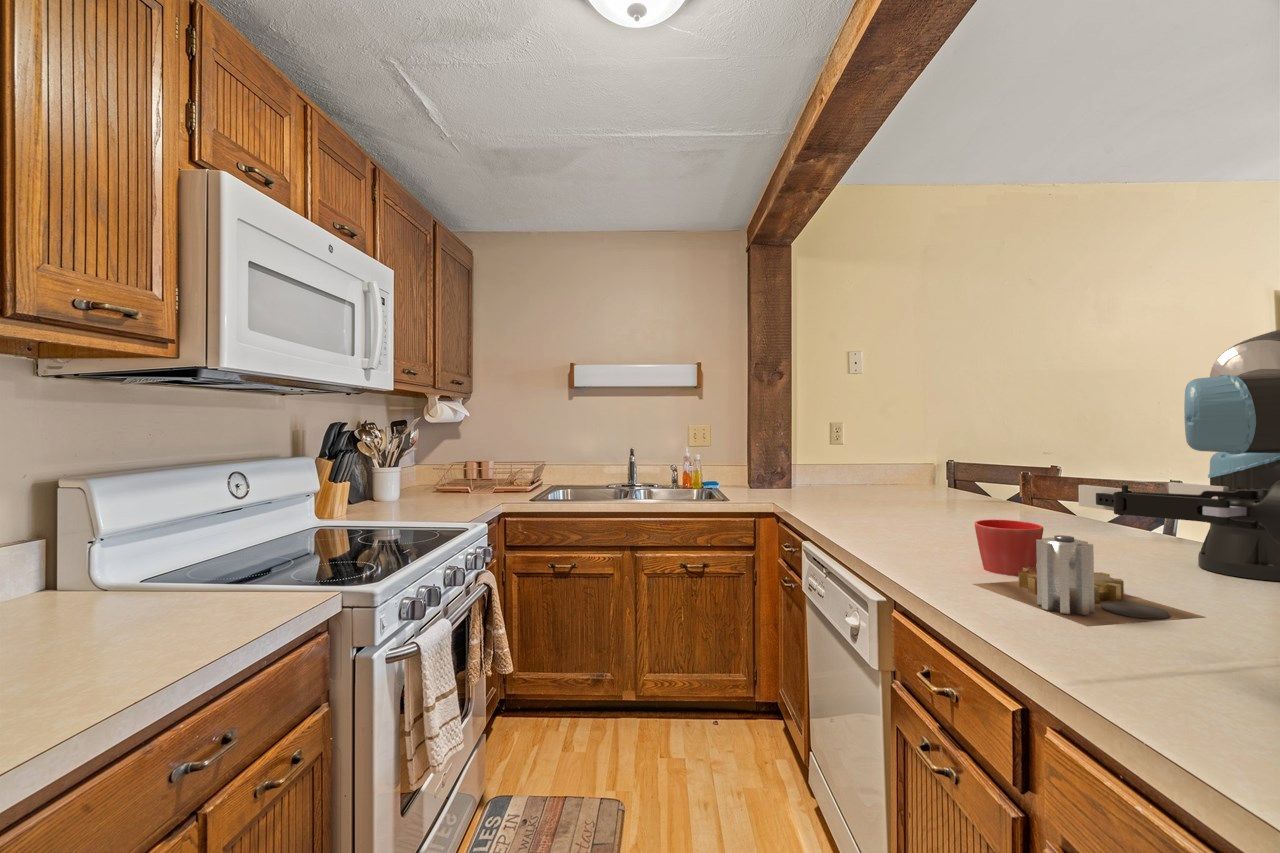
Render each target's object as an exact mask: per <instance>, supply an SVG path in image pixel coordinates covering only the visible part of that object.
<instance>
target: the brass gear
mask: <svg viewBox="0 0 1280 853" xmlns="http://www.w3.org/2000/svg"><path fill="white" fill-rule="evenodd" d="M1017 577H1018V581H1019V587H1021V588H1028V592H1029V593H1032V594H1035V595H1037V567H1036V568H1033V567H1023V571H1018V576H1017ZM1124 583H1125V582H1124V580H1123V579H1121V578H1113V577H1111V574H1109V573H1106V572H1095V571H1094V603H1096V604H1099V601H1112V602H1120V601H1121V597H1124V594H1125V593H1124V592H1125V591H1124V590H1125V588H1124V587H1125V586H1124Z"/></svg>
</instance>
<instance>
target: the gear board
mask: <svg viewBox="0 0 1280 853" xmlns="http://www.w3.org/2000/svg"><path fill="white" fill-rule="evenodd" d="M972 585H973V586H976V587H979V588H982V589H984V590H987V591H989V592H992V593H996V594H997V595H1001V596H1003V597H1006V598H1008V599H1011V600H1014V601H1017V602H1019V603H1022V604H1025V605H1027V606H1031V607H1034V608H1036V609H1039V610H1040V611H1041V610H1042V611H1044V612H1047V613H1050V614H1052V615H1055V616H1058V617H1059V618H1063V619H1066V620H1069V621H1071V622H1074V623H1076V624H1080V625H1083V626H1084V627H1095V626H1096V627H1097V626H1098V627H1099V626H1108V625H1110V626H1111V625H1124V624H1135V623H1136V624H1137V623H1150V622H1161V621H1162V622H1163V621H1164V622H1165V621H1176V620H1190V619H1203V618H1204V619H1205V618H1206V616H1203V615H1200V614H1196V613H1193V612H1190V611H1185V610H1182V609H1181V608H1180V609H1178V608H1175V607H1173V606H1169V605H1166V604H1162V603H1158V602H1155V601H1151V600H1147V599H1144V598H1140V597H1137V596H1134V595H1131V594H1128V593H1124V597H1121V601H1120V602H1112V601H1099V604H1096V603H1094V612H1089V614H1088V615H1081V614H1065V613H1059V612H1055V611H1051V610H1046V609H1044V608H1042V605H1037V595H1035V594H1032V593H1029V592H1028V588H1021V587H1019V580H1017V581H1016V580H1015V581H1014V580H1013V581H999V582H998V581H997V582H983V583H972Z"/></svg>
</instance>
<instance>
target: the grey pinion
mask: <svg viewBox="0 0 1280 853" xmlns="http://www.w3.org/2000/svg"><path fill="white" fill-rule="evenodd" d="M1036 550H1037V564H1036V568H1037V605H1042V608H1044V609H1046V610H1051V611H1055V612H1059V613H1065V614H1081V615H1088V614H1089V612H1094V572H1095V570H1094V569H1095V565H1094V564H1095V562H1094V561H1095V560H1094V556H1095V555H1094V543H1089V542H1088V541H1085V540H1081V539H1076V538H1075V537H1074V536H1071V535H1061V534H1060V535H1059V534H1058V535H1057V534H1056V535H1054V537H1042V540H1038V539H1037V540H1036Z"/></svg>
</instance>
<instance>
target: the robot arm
mask: <svg viewBox="0 0 1280 853" xmlns="http://www.w3.org/2000/svg"><path fill="white" fill-rule="evenodd" d="M1209 373H1210V374H1209V377H1199V378H1198V377H1197V378H1194V379H1191V380H1190V381H1189V382H1187V384H1186V385H1185V389H1184V405H1183V406H1184V409H1183V410H1184V413H1183V414H1184V433H1185V440H1186V441H1185V442H1186V443H1187V445H1188V446H1189V447H1190V449H1193V450H1194V451H1199V452H1209V453H1210V452H1211V453H1212V452H1213V453H1214V454H1213V455H1212V456H1211V457H1210V460H1209V473H1208V475H1207V478H1209V484H1197V483H1184V482H1174V481H1172V482H1168V487H1167V488H1168V490H1167V491H1168V493H1166V492H1148V491H1147V492H1144V491H1133V489H1129V485H1128V484H1122V485H1121V487H1119V488H1117V487H1110V486H1101V485H1099V486H1098V485H1087V484H1079V485H1077V486H1078V506H1079V507H1084V508H1091V509H1092V508H1093V509H1099V510H1104V511H1113V514H1114V515H1117V516H1136V517H1145V518H1146V517H1147V518H1155V519H1156V518H1157V519H1167V520H1168V519H1169V520H1177V521H1178V520H1180V521H1190V522H1200V523H1201V522H1202V523H1208V524H1210V525H1209V529H1208V531H1207V534H1206V536H1205V538H1204V541H1203V543H1202V545H1201V548H1200V551H1199V552H1198V556H1197V559H1198V563H1197V565H1198V566H1199V568H1201V569H1203V570H1206V571H1210V572H1213V573H1217V574H1221V575H1226V576H1231V577H1239V578H1246V579H1253V580H1263V581H1272V582H1280V329H1277V330H1272V331H1270V332H1269V331H1268V332H1266V333H1263V334H1259V335H1257V336H1253V337H1250V338H1248V339H1245V340H1243V341H1240V342H1238V343H1236V344H1234V345H1232V346H1231V347H1229V348H1228V349H1226V350H1224V352H1222V353H1221V354H1220V355H1219V356H1218V357H1217V358H1216V360H1215V362H1214V363H1213V365H1212V367H1211V369H1210V372H1209Z"/></svg>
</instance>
